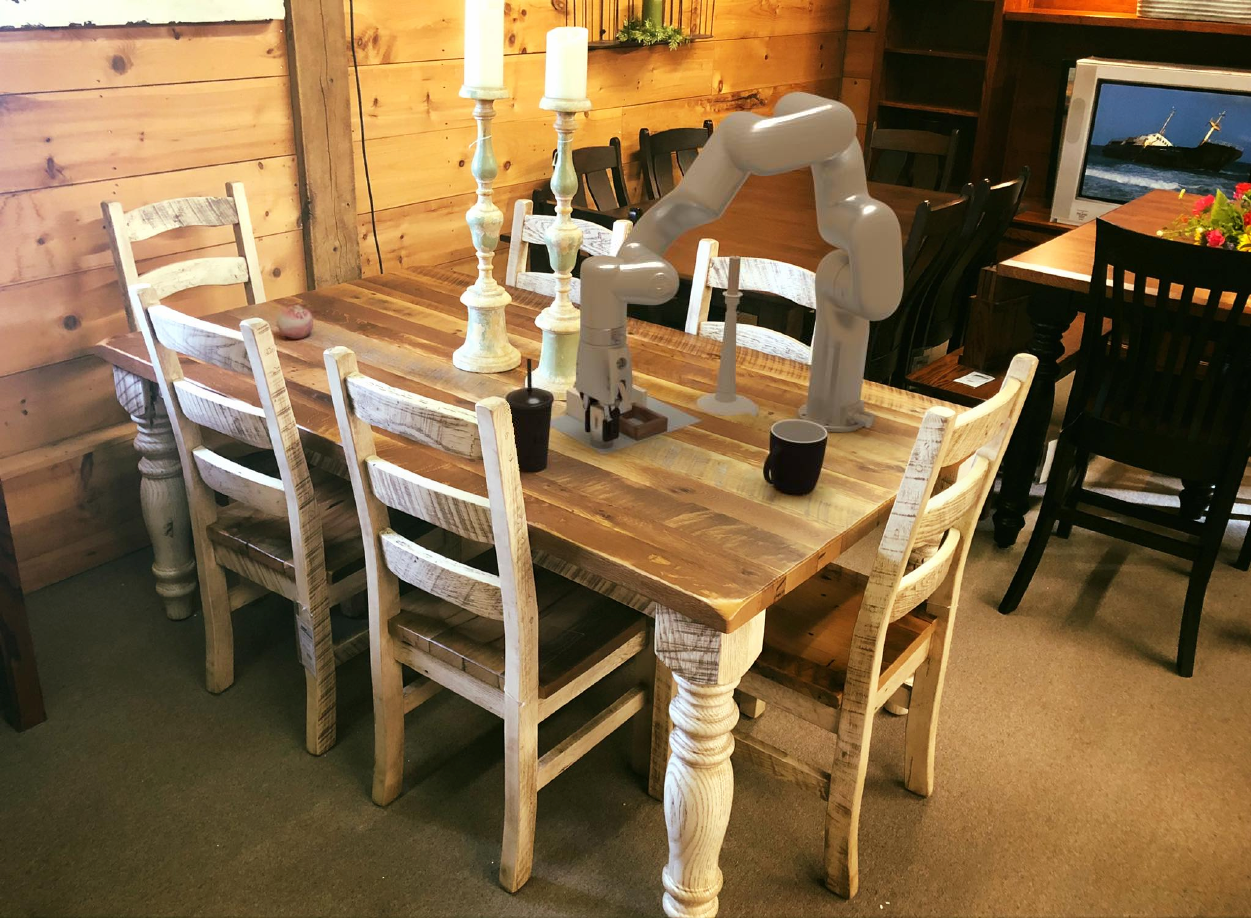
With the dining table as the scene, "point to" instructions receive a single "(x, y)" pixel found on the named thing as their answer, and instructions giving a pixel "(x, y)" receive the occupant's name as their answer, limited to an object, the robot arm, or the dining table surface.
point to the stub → (598, 425)
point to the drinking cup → (531, 424)
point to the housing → (576, 409)
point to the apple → (295, 322)
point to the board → (577, 432)
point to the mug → (795, 456)
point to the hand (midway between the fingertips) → (601, 434)
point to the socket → (649, 428)
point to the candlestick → (729, 357)
